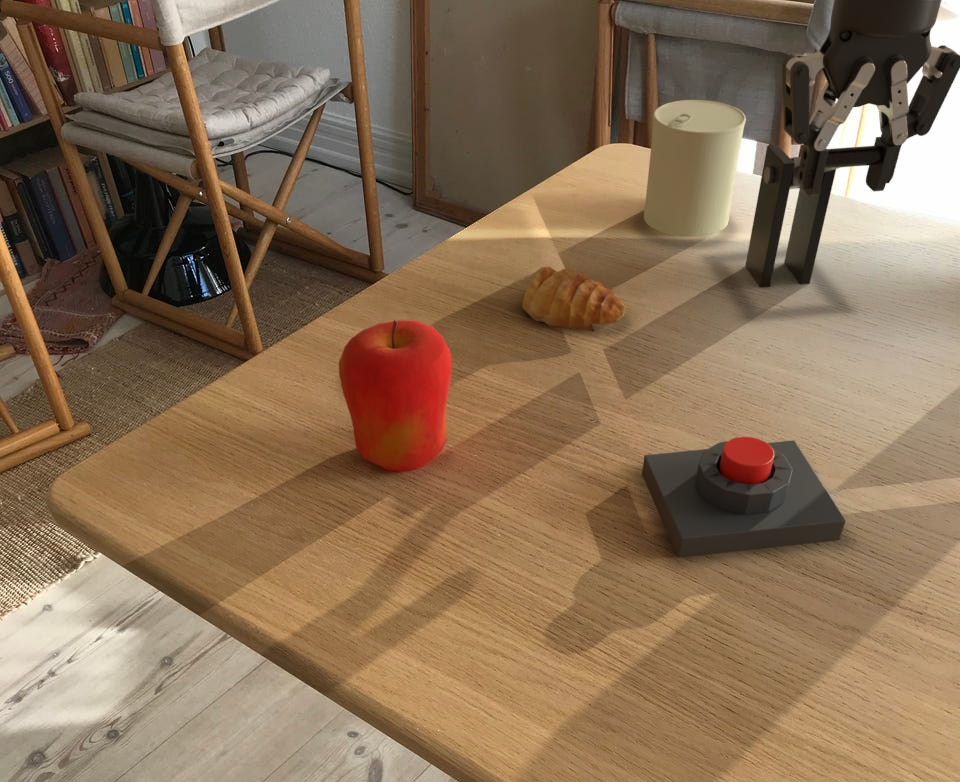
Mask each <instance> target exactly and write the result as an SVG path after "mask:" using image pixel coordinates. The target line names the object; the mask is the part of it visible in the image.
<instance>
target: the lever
mask: <svg viewBox="0 0 960 782" xmlns="http://www.w3.org/2000/svg"><path fill="white" fill-rule="evenodd" d="M826 149H827V150H828V151H829V152H828V156H827V161H826V165H825V170H824V172H827V171H831V170H834V169H836V170H837V169H840V168H851V167H864V166H865V167H866V166H869V165H878V164H879V163H880V162H881V160H882V155H883V151H882V147H881V146H879V145H877V146H874V145H865V146H851V147H837V148H826ZM789 158H790V159H791V160H792V161H793V162H794V163H795V165H794V170H793V175H792V180H791V185H790V190H796V189H800V188H802V186H801V185H800V184H799V183H798V179H797V175H798V170H799V165H800V160H801V156H793V157H789Z"/></svg>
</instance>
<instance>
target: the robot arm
mask: <svg viewBox="0 0 960 782" xmlns="http://www.w3.org/2000/svg"><path fill="white" fill-rule="evenodd" d="M941 3H942V0H833V5H832V8H831V9H832V10H831V15H830V27H829V32H828V35H827V37H826V38H825V40H824V42H823V43H822V44H821V46H820V48H819V51H816V52H813V53H810V54H807V55H804V56H801V57H798V56H797V55H796V54H793V53H791V54H788V55H786V56H785V57H784V59H783V61H782V64H781V65H782V66H781V67H782V111H783V112H782V114H783V115H782V116H783V131H784V132H785V133H786V134H787V135H788V136H789V137H790V138H791V139H792V140H793V142H795V143H796V144H798V145H803V146H802V151H801V156H800V157H801V160H800V165H799V170H798V175H797V179H798V183H799V184H800V185H801V186H802V189H803V191H804V192H805V193H806V194H807V195H808V196H817V195H818V194H819V192H820V188H821V183H822V179H823V174H824V170H825V165H826V161H827V156H828V152H829V151H828V150H827V149H828V148H827V147H828V146H829V144H830V142H831V141H832V139H833V138H834V136H835V134H836V132H837V130H838V128H839V126H840V125H842V124H844V123H845V122H846V120H847V119H848V117H849V115H850V114H851V112H852V110H853V108H860V107H862V106H866V105H868V104H870V105H873V106H876V108H877V110H878V118H879V125H880V126H879V127H880V128H879V129H880V133H881V135H880V136H876V137H875V140H874V145H873V146H877V145H879V146H881V147H882V151H883V155H882V160H881V162H880V163H879V164H878V165H868V169H867V172H866V176H865V184H866V186H867V187H868V188H869V189H870V190H871V191H872V192H883V191H884V190H885V189H886V185H887V184H890V182H891V180H892V179H893V178H894V174H895V170H896V167H897V163H898V161H899V156H900V152H901V149H902V145H903V144H904V143H906V141H907V140H908V139H910V138H912V137H914V136H916V135H918V136H919V137H923V136H925V135H927V134H928V133H929V132H930V130H931V129H932V127H933V125H934V122H935V120H936V118H937V117H938V114H939V112H940V110H941V108H942V106H943V104H944V102H945V100H946V98H947V96H948V94H949V91H950V90H951V88H952V85H953V84H954V81H955V79H956V77H957V75H958V73H959V71H960V54H959V53H958V52H957V51H955V50H954V49H952V48H950V47H949V46H947V45H943V44H942V45H939V46H938V47H936V46H932V43H931V30H932V29H933V27H934V26H935V24H936V23H937V19H938V15H939V12H940V7H941V5H942V4H941ZM821 70H822V72H823V75H824V78H825V79H826V82H825V84H824V86H823V88H822V89H821V91H820V93H819V95H818V96H817V98H816V101H815V109H814V111H813V112H812V115H811V116H810V89H811V88H812V87H814V86H815V84H816V80H817V75H818V73H819V72H820V71H821ZM920 70H922V71H921V73H922V77H921V79H920V81H919V83H918V85H917V87H916V90H915V92H914V94H913V96H912V99H911V101H910V103H909V95H908V93H909V92H908V84H909V83H910V81H911V80H913V78H914V77H915V75H917V74H918V72H919V71H920ZM836 100H837V101H836Z"/></svg>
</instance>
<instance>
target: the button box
mask: <svg viewBox="0 0 960 782" xmlns="http://www.w3.org/2000/svg"><path fill="white" fill-rule="evenodd" d="M728 441H729V440H727V441H720V442H718V443H716V444H714V445H712V446H711V447H709V448H703V449H693V450H683V451H674V452H663V453H654V454H653V453H651V454H645V455H644V456H643V462H642V463H643V464H642V470H641V476H642V478H643V481H644V483H645V485H646V487H647V490H648V492H649V494H650V496H651V498H652V501H653V503H654V505H655V507H656V510H657V513H658V514H659V517H660V519H661V521H662V523H663V526H664V528H665V531H666V532H667V535H668V538H669V540H670V542H671V544H672V547H673V548H674V551H675V553H676V556H677V558H678V559H681V558H691V557H698V556H699V557H700V556H709V555H717V554H726V553H735V552H744V551H745V552H746V551H753V550H762V549H771V548H781V547H789V546H799V545H808V544H817V543H825V542H834V541H840V540H841V537H842V533H843V531H844V527H845V524H846V519H845V517H844V516H843V514H842V513H841V511H840V510H839V508H838V506H837V505H836V503H835V502H834V500H833V499H832V497H831V495H830V494H829V492H828V491H827V489H826V487H825V486H824V484H823V483H822V481H821V480H820V478H819V476H818V475H817V473H816V472H815V470H814V468H813V467H812V465H811V463H810V462H809V460H808V459H807V458H806V456H805V454H804V453H803V451H802V450H801V448H800V447H799V445H798V443H797V441H796V440H783V441H773V442H767V443H768V444H769V445H770V446H771V447H772V449H773V450H774V459H773V464H772V468H771V472H770V476H769V478H768V479H767V480H766V481H764V482H763V483H759V484H749V485H747V484H743V483H738V482H733V481H731V480H729V479H728V478H726V477H724V476H723V475H722V474H721V472H720V462H721V457H722V452H723V447H724V445H725V444H726V443H727V442H728Z"/></svg>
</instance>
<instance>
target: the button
mask: <svg viewBox="0 0 960 782" xmlns="http://www.w3.org/2000/svg"><path fill="white" fill-rule="evenodd" d="M727 441H728V442H727ZM727 441H726V442H727V443H726V444H725V445H724V447H723V452H722V457H721V462H720V472H721V474H722V475H723V476H724V477H726V478H728V479H729V480H731V481H733V482H738V483H743V484H747V485H749V484H759V483H763V482H764V481H766V480H767V479H768V478H769V476H770V472H771V468H772V464H773V459H774V450H773V449H772V447H771V446H770V445H769V444H768V443H769V442H766V441H765V440H763V439H760V438H757V437H752V436H738V437H734V438H731V439H729V440H727Z"/></svg>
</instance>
